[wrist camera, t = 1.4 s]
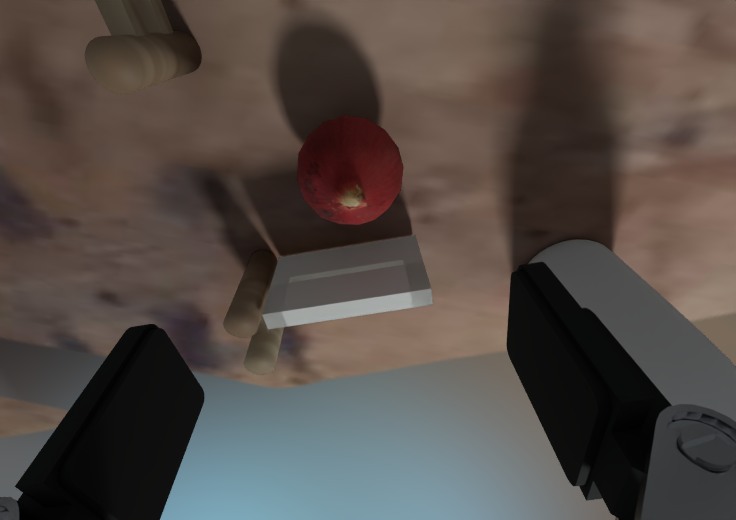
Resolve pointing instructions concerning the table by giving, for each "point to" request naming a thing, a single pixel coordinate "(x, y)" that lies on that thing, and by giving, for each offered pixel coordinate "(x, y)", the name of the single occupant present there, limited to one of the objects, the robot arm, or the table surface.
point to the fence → (155, 65)
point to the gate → (347, 283)
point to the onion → (349, 170)
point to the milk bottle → (645, 325)
